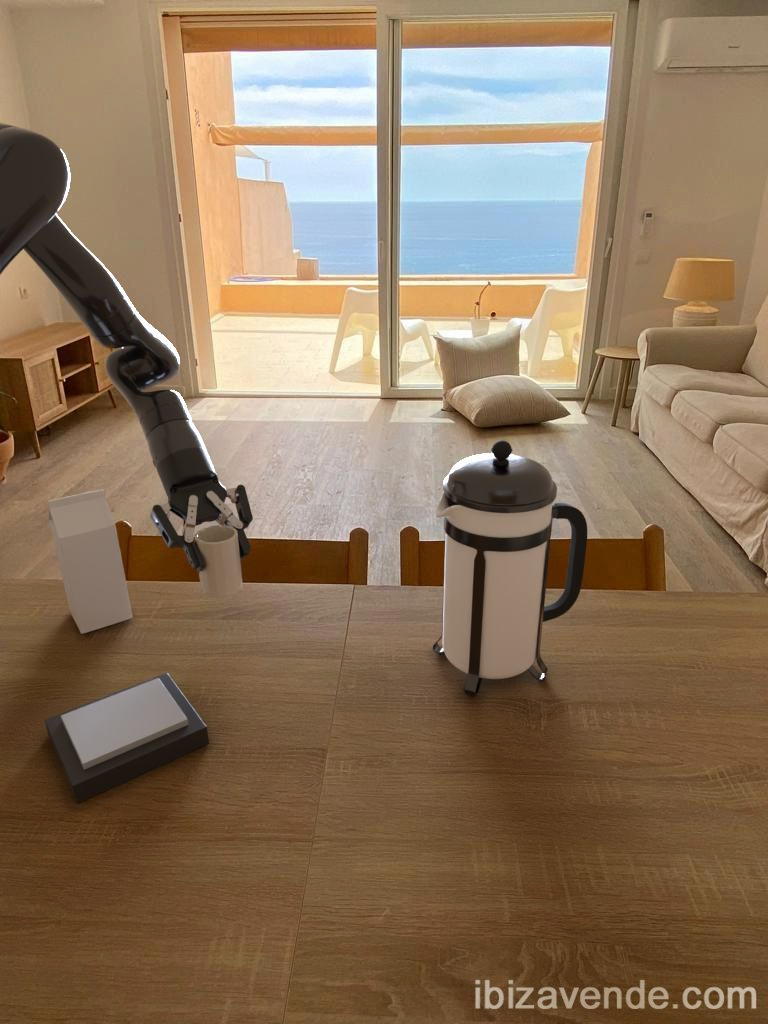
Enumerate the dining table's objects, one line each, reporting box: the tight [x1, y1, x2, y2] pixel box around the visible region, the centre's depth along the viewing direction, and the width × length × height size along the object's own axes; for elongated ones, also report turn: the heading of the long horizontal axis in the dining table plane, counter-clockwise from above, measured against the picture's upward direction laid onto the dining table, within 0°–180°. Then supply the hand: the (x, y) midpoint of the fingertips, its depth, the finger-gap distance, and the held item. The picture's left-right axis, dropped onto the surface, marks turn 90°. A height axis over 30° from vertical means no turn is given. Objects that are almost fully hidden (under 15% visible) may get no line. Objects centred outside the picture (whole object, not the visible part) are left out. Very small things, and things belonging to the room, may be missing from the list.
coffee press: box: [432, 439, 588, 697], centre depth 84 cm, size 17×16×30 cm
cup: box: [194, 524, 243, 599], centre depth 98 cm, size 6×6×8 cm
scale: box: [44, 672, 210, 805], centre depth 76 cm, size 14×12×3 cm
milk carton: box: [47, 488, 133, 635], centre depth 97 cm, size 7×7×19 cm
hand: (224, 562), depth 96 cm, fingers closed on cup, 6 cm apart
